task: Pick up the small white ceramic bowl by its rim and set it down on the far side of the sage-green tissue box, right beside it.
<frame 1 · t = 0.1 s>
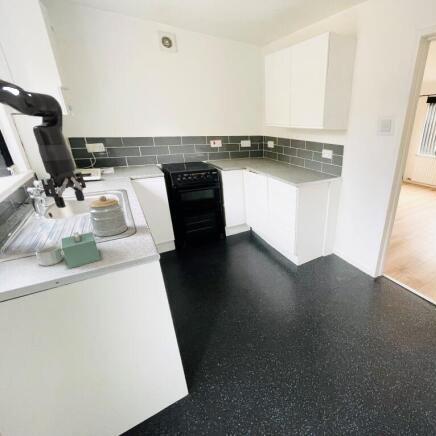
hand: (71, 204, 88), 21 cm above the countertop, tool pointing down, fingers open, 8 cm apart
tissue box: (84, 258, 92), on the countertop
bowl: (52, 262, 90), on the countertop
jar: (112, 231, 118), on the countertop
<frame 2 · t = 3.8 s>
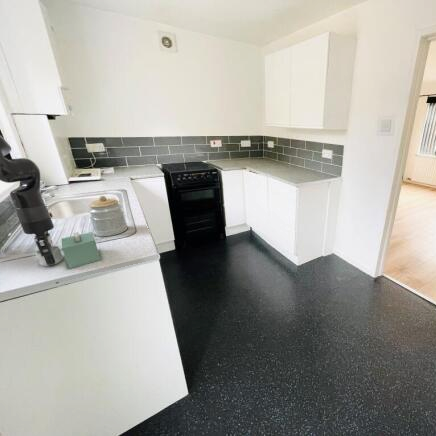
hand: (51, 260, 90), 1 cm above the countertop, tool pointing down, fingers closed on bowl, 6 cm apart
bowl: (52, 262, 90), on the countertop, touching gripper
everything else where it was.
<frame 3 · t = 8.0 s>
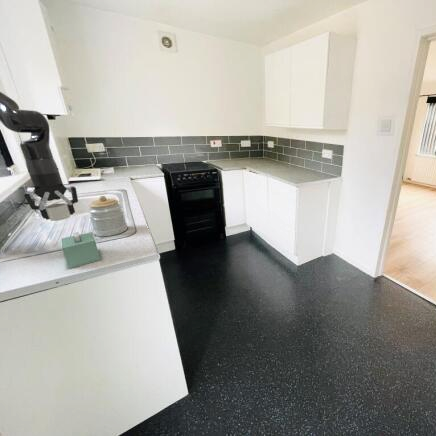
hand: (59, 216, 91), 16 cm above the countertop, tool pointing down, fingers closed on bowl, 6 cm apart
bowl: (60, 218, 91), point 15 cm above the countertop, touching gripper
everything else where it was.
when the fingers open (1 cm above the countertop, at t = 12.2 s): bowl stays where it is, on the countertop.
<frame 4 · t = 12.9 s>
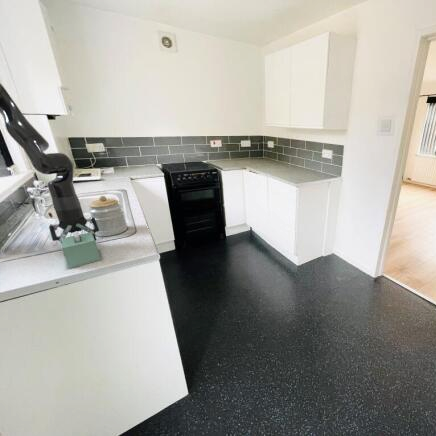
hand: (80, 245, 99), 2 cm above the countertop, tool pointing down, fingers open, 8 cm apart
bowl: (82, 249, 100), on the countertop
everything else where it was.
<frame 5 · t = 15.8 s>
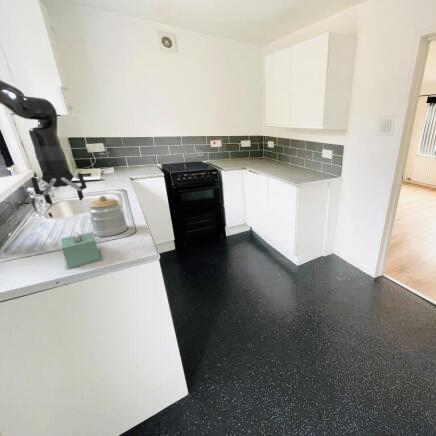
hand: (66, 202, 93), 20 cm above the countertop, tool pointing down, fingers open, 8 cm apart
nothing on the countertop moved.
at the end: bowl inside the target area on the countertop beside the tissue box (0.1 cm from its centre), on the countertop; bowl tilted 0°; the gripper is holding nothing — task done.
